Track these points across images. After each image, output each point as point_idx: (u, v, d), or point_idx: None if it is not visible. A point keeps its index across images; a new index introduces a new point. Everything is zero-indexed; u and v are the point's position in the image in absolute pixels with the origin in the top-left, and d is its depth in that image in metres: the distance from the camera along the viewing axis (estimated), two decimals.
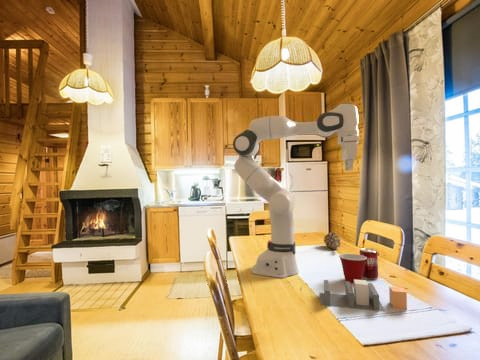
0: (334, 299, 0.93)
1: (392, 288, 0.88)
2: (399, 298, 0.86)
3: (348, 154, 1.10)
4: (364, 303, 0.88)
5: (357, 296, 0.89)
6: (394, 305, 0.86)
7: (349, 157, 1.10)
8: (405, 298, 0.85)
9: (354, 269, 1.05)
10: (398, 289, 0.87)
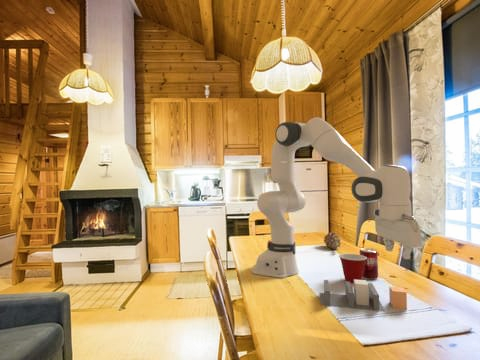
0: (334, 299, 0.93)
1: (392, 288, 0.88)
2: (399, 298, 0.86)
3: None
4: (364, 303, 0.88)
5: (357, 296, 0.89)
6: (394, 305, 0.86)
7: None
8: (405, 298, 0.85)
9: (354, 269, 1.05)
10: (398, 289, 0.87)
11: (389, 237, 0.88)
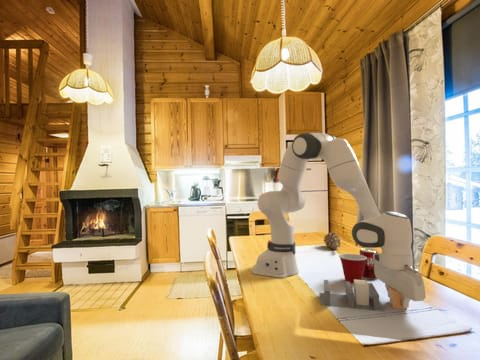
0: (334, 299, 0.93)
1: (392, 288, 0.88)
2: (399, 298, 0.86)
3: None
4: (364, 303, 0.88)
5: (357, 296, 0.89)
6: (394, 305, 0.86)
7: None
8: None
9: (354, 269, 1.05)
10: None
11: (390, 285, 0.88)
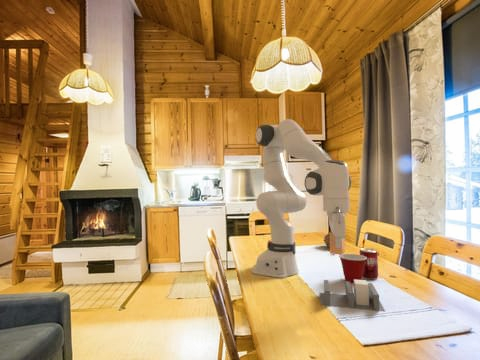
0: (334, 299, 0.93)
1: None
2: None
3: None
4: (364, 303, 0.88)
5: (357, 296, 0.89)
6: (331, 246, 0.92)
7: None
8: None
9: (354, 269, 1.05)
10: None
11: (331, 229, 0.94)
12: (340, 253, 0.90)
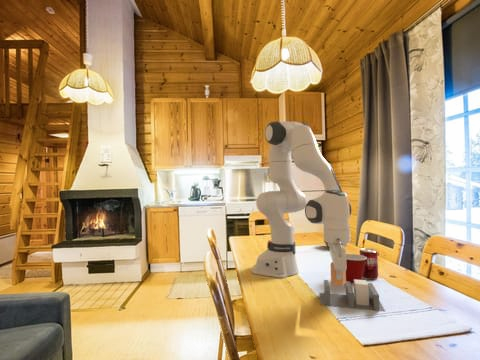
0: (334, 299, 0.93)
1: None
2: (335, 271, 0.91)
3: None
4: (364, 303, 0.88)
5: (357, 296, 0.89)
6: (332, 277, 0.91)
7: None
8: None
9: (354, 269, 1.05)
10: None
11: None
12: (341, 284, 0.90)
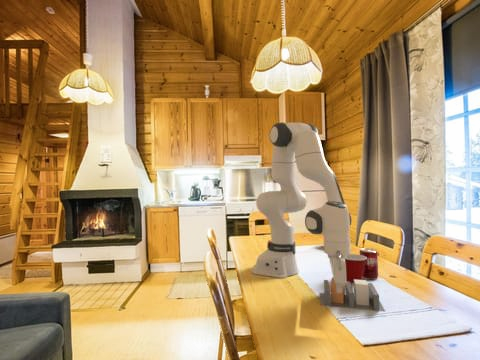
0: None
1: (333, 279, 0.93)
2: None
3: None
4: (364, 303, 0.88)
5: (357, 296, 0.89)
6: (332, 294, 0.92)
7: None
8: None
9: (354, 269, 1.05)
10: None
11: None
12: (341, 302, 0.90)
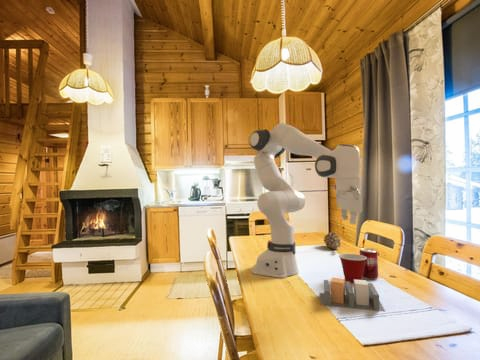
0: None
1: (333, 279, 0.94)
2: (336, 288, 0.91)
3: None
4: (364, 303, 0.88)
5: (357, 296, 0.89)
6: (332, 294, 0.92)
7: None
8: (342, 288, 0.90)
9: (354, 269, 1.05)
10: (338, 280, 0.92)
11: (342, 207, 1.03)
12: (341, 302, 0.90)
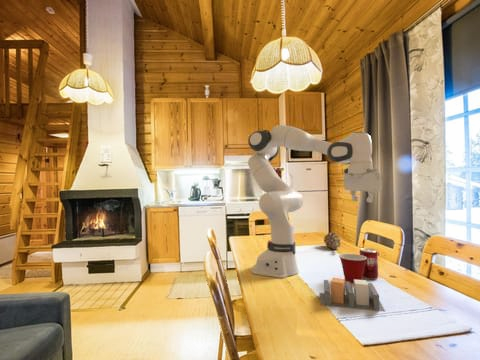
0: None
1: (333, 279, 0.94)
2: (336, 288, 0.91)
3: None
4: (364, 303, 0.88)
5: (357, 296, 0.89)
6: (332, 294, 0.92)
7: None
8: (342, 288, 0.90)
9: (354, 269, 1.05)
10: (338, 280, 0.92)
11: (356, 189, 1.14)
12: (341, 302, 0.90)
